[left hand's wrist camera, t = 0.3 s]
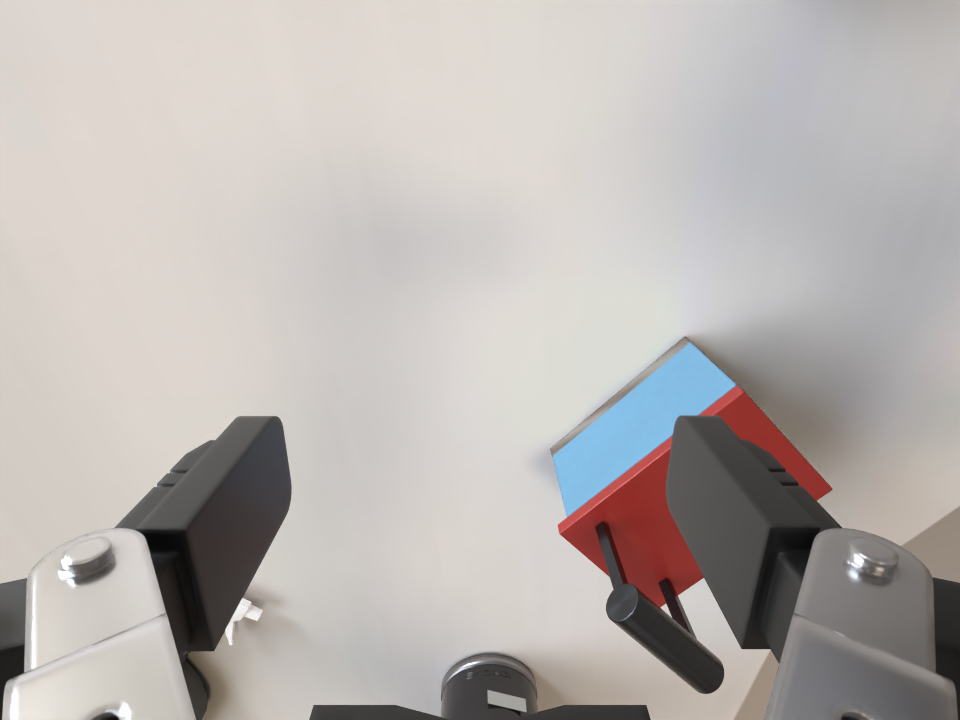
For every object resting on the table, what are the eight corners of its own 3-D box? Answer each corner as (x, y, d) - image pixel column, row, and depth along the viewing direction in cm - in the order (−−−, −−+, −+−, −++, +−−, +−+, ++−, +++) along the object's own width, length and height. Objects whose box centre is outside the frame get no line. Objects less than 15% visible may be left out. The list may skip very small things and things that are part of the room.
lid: (648, 603, 39) (691, 722, 31) (557, 524, 36) (579, 631, 28) (824, 481, 35) (926, 580, 27) (736, 384, 32) (820, 462, 24)
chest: (626, 517, 47) (656, 596, 39) (550, 448, 44) (566, 517, 36) (759, 417, 43) (824, 480, 35) (684, 336, 41) (736, 383, 33)
